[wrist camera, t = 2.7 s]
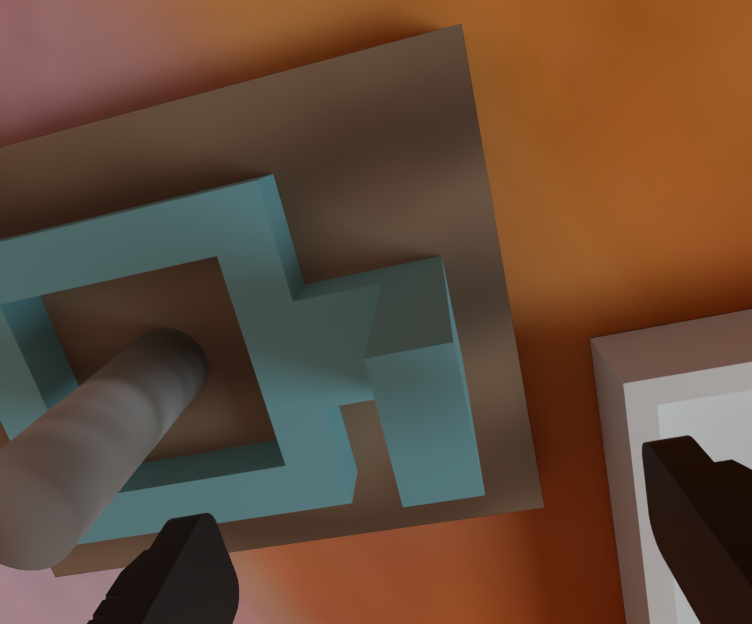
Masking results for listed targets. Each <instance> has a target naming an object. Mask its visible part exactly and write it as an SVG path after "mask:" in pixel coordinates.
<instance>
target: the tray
mask: <svg viewBox="0 0 752 624" xmlns="http://www.w3.org/2000/svg"><path fill="white" fill-rule="evenodd" d="M590 345H591V353H592V360H593V368H594V376H595V384H596V392H597V399H598V407H599V415H600V423H601V430H602V438H603V446H604V454H605V462H606V469H607V477H608V485H609V493H610V501H611V508H612V516H613V524H614V532H615V540H616V547H617V555H618V563H619V571H620V579H621V586H622V594H623V602H624V610H625V617H626V624H700V622H699V620H698V618H697V617H696V615H695V613H694V611H693V610H692V608H691V606H690V604H689V603H688V601H687V599H686V597H685V596H684V594H683V592H682V590H681V589H680V587H679V585H678V583H677V581H676V580H675V578H674V576H673V574H672V573H671V571H670V569H669V567H668V566H667V564H666V562H665V560H664V559H663V557H662V555H661V553H660V551H659V549H658V546H657V544H656V541H655V538H654V535H653V532H652V529H651V525H650V520H649V514H648V505H647V496H646V487H645V478H644V469H643V460H642V445H643V443H644V442H649V441H655V440H661V439H667V438H674V437H680V436H686V435H689V436H691V437H693V438H694V439H695V441H696V442H697V443H698V444H699V445H700V446H701V447H702V449H703V450H704V451H705V452H706V453H707V454H708V455H709V457H710V458H711V459H712V460H713V461H714V462H718V461H724V460H731V459H733V460H735V461H736V462H738V463H740V464H742V465H744V466H746V467H748V468H750V469H752V309H749V310H744V311H738V312H733V313H727V314H722V315H716V316H711V317H705V318H700V319H695V320H689V321H684V322H678V323H673V324H667V325H662V326H656V327H651V328H645V329H640V330H634V331H629V332H623V333H618V334H612V335H607V336H601V337H596V338H590Z"/></svg>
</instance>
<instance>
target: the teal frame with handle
mask: <svg viewBox="0 0 752 624" xmlns="http://www.w3.org/2000/svg"><path fill="white" fill-rule="evenodd" d="M215 256H217V258H218V261H219V264H220V267H221V270H222V273H223V276H224V279H225V282H226V286H227V289H228V292H229V295H230V298H231V301H232V304H233V307H234V310H235V313H236V316H237V319H238V322H239V325H240V328H241V331H242V334H243V337H244V340H245V343H246V347H247V350H248V353H249V356H250V359H251V362H252V365H253V368H254V371H255V374H256V377H257V380H258V383H259V386H260V389H261V392H262V395H263V398H264V401H265V404H266V407H267V411H268V414H269V417H270V420H271V423H272V426H273V429H274V432H275V435H276V438H277V440H274V441H269V442H263V443H257V444H251V445H245V446H239V447H233V448H228V449H222V450H216V451H210V452H204V453H198V454H192V455H186V456H181V457H175V458H169V459H163V460H157V461H151V462H145V463H141V464H140V466H139V467H138V468H137V469H136V471H135V472H134V473H133V474H132V476H131V477H130V478H129V479H128V481H127V482H126V483H125V484H124V486H123V487H122V488H121V489H120V491H119V492H118V493H117V494H116V496H115V497H114V498H113V499H112V501H111V502H110V503H109V504H108V506H107V507H106V508H105V509H104V511H103V512H102V513H101V514H100V516H99V517H98V518H97V519H96V521H95V522H94V523H93V524H92V526H91V527H90V528H89V529H88V531H87V532H86V533H85V534H84V536H83V537H82V538H81V539H80V541H79V542H78V543H77V544H76V545H78V544H84V543H91V542H98V541H104V540H111V539H117V538H124V537H131V536H137V535H144V534H151V533H157V532H160V531H161V529H162V528H163V526H164V524H165V523H166V522H167V521H168V520H169V519H171V518H178V517H184V516H190V515H196V514H202V513H210V514H211V515H212V516H213V517H214V518H215V520H216V522H217V523H224V522H230V521H237V520H243V519H250V518H257V517H263V516H270V515H277V514H283V513H290V512H297V511H303V510H310V509H316V508H323V507H330V506H336V505H343V504H350V503H352V500H353V494H354V489H355V483H356V477H357V472H358V471H357V467H356V464H355V460H354V457H353V453H352V450H351V446H350V443H349V439H348V436H347V432H346V429H345V425H344V422H343V418H342V415H341V411H340V408H339V406H341V405H347V404H352V403H358V402H364V401H369V400H375V403H376V406H377V410H378V414H379V418H380V422H381V426H382V429H383V433H384V437H385V441H386V445H387V448H388V452H389V456H390V460H391V464H392V468H393V471H394V475H395V479H396V483H397V487H398V491H399V494H400V498H401V502H402V506H403V507H409V506H416V505H423V504H429V503H436V502H443V501H450V500H457V499H463V498H470V497H477V496H484V495H485V491H484V485H483V479H482V473H481V467H480V461H479V455H478V449H477V443H476V437H475V431H474V425H473V419H472V413H471V407H470V401H469V395H468V389H467V383H466V377H465V371H464V365H463V359H462V354H461V349H460V344H459V339H458V334H457V329H456V324H455V319H454V315H453V310H452V305H451V300H450V295H449V290H448V285H447V280H446V275H445V270H444V266H443V261H442V256H438V257H433V258H428V259H423V260H419V261H414V262H409V263H404V264H400V265H395V266H390V267H385V268H381V269H376V270H371V271H366V272H362V273H357V274H352V275H347V276H343V277H338V278H333V279H328V280H324V281H319V282H314V283H309V284H304V281H303V277H302V274H301V270H300V267H299V263H298V260H297V256H296V253H295V249H294V246H293V242H292V239H291V235H290V232H289V228H288V225H287V221H286V218H285V214H284V210H283V207H282V203H281V200H280V196H279V193H278V189H277V186H276V182H275V179H274V175H273V174H270V175H266V176H261V177H257V178H253V179H249V180H245V181H241V182H237V183H233V184H228V185H224V186H220V187H216V188H212V189H208V190H204V191H199V192H195V193H191V194H187V195H183V196H179V197H175V198H170V199H166V200H162V201H158V202H154V203H150V204H146V205H141V206H137V207H133V208H129V209H125V210H121V211H117V212H112V213H108V214H104V215H100V216H96V217H92V218H88V219H83V220H79V221H75V222H71V223H67V224H63V225H59V226H54V227H50V228H46V229H42V230H38V231H34V232H30V233H26V234H21V235H17V236H13V237H9V238H5V239H1V240H0V421H1V423H2V425H3V427H4V429H5V431H6V433H7V435H8V437H9V439H10V441H11V440H12V439H13V438H15V437H16V436H17V435H18V434H20V433H21V432H22V431H23V430H25V429H26V428H27V427H28V426H30V425H31V424H32V423H33V422H35V421H36V420H37V419H38V418H40V417H41V416H42V415H43V414H45V413H46V412H47V411H48V410H50V409H51V408H52V407H54V406H55V405H56V404H57V403H59V402H60V401H61V400H62V399H64V398H65V397H66V396H67V395H69V394H70V393H71V392H72V391H74V390H75V389H76V388H77V387H79V385H78V383H77V380H76V378H75V376H74V374H73V371H72V369H71V367H70V364H69V362H68V360H67V357H66V355H65V353H64V351H63V348H62V346H61V344H60V341H59V339H58V337H57V334H56V332H55V330H54V328H53V325H52V323H51V321H50V318H49V316H48V314H47V311H46V309H45V307H44V305H43V302H42V300H41V298H40V295H44V294H49V293H53V292H58V291H62V290H67V289H71V288H76V287H80V286H85V285H89V284H94V283H98V282H103V281H107V280H112V279H116V278H121V277H125V276H130V275H134V274H139V273H143V272H148V271H152V270H156V269H161V268H165V267H170V266H174V265H179V264H183V263H188V262H192V261H197V260H201V259H206V258H210V257H215Z"/></svg>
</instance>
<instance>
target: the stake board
mask: <svg viewBox="0 0 752 624" xmlns="http://www.w3.org/2000/svg"><path fill="white" fill-rule="evenodd" d="M270 174H273V175H274V179H275V182H276V186H277V189H278V193H279V196H280V200H281V203H282V207H283V210H284V214H285V218H286V221H287V225H288V228H289V232H290V235H291V239H292V242H293V246H294V249H295V253H296V256H297V260H298V263H299V267H300V270H301V274H302V277H303V281H304V284H309V283H314V282H319V281H324V280H328V279H333V278H338V277H343V276H347V275H352V274H357V273H362V272H366V271H371V270H376V269H381V268H385V267H390V266H395V265H400V264H404V263H409V262H414V261H419V260H423V259H428V258H433V257H438V256H442V261H443V266H444V270H445V275H446V280H447V285H448V290H449V295H450V300H451V305H452V310H453V315H454V319H455V324H456V329H457V334H458V339H459V344H460V349H461V354H462V359H463V365H464V371H465V377H466V383H467V389H468V395H469V401H470V407H471V413H472V419H473V425H474V431H475V437H476V443H477V449H478V455H479V461H480V467H481V473H482V479H483V485H484V491H485V495H484V496H477V497H470V498H463V499H457V500H450V501H443V502H436V503H429V504H423V505H416V506H409V507H403V506H402V502H401V498H400V494H399V491H398V487H397V483H396V479H395V475H394V471H393V468H392V464H391V460H390V456H389V452H388V448H387V445H386V441H385V437H384V433H383V429H382V426H381V422H380V418H379V414H378V410H377V406H376V403H375V400H369V401H364V402H358V403H352V404H347V405H341V406H339V408H340V411H341V415H342V418H343V422H344V425H345V429H346V432H347V436H348V439H349V443H350V446H351V450H352V453H353V457H354V460H355V464H356V467H357V471H358V472H357V477H356V483H355V489H354V494H353V500H352V503H350V504H343V505H336V506H330V507H323V508H316V509H310V510H303V511H297V512H290V513H283V514H277V515H270V516H263V517H257V518H250V519H243V520H237V521H230V522H224V523H217V525H218V527H219V530H220V533H221V535H222V538H223V540H224V543H225V546H226V548H227V551H228V553H229V552H236V551H243V550H250V549H257V548H264V547H271V546H278V545H285V544H292V543H299V542H306V541H313V540H320V539H327V538H334V537H341V536H348V535H355V534H362V533H369V532H376V531H383V530H390V529H397V528H404V527H411V526H418V525H425V524H432V523H439V522H447V521H454V520H461V519H468V518H475V517H482V516H489V515H496V514H503V513H510V512H517V511H524V510H531V509H538V508H544V503H543V497H542V491H541V485H540V480H539V474H538V468H537V462H536V456H535V450H534V445H533V439H532V433H531V427H530V421H529V415H528V410H527V404H526V398H525V392H524V386H523V380H522V375H521V369H520V363H519V357H518V351H517V345H516V340H515V334H514V328H513V322H512V316H511V310H510V304H509V299H508V293H507V287H506V281H505V275H504V269H503V264H502V258H501V252H500V246H499V240H498V234H497V229H496V223H495V217H494V211H493V205H492V199H491V194H490V188H489V182H488V176H487V170H486V164H485V158H484V153H483V147H482V141H481V135H480V129H479V123H478V118H477V112H476V106H475V100H474V94H473V88H472V83H471V77H470V71H469V65H468V59H467V53H466V48H465V42H464V36H463V30H462V24H458V25H454V26H451V27H447V28H443V29H439V30H436V31H432V32H428V33H425V34H421V35H417V36H413V37H410V38H406V39H402V40H398V41H395V42H391V43H387V44H384V45H380V46H376V47H372V48H369V49H365V50H361V51H357V52H354V53H350V54H346V55H342V56H339V57H335V58H331V59H328V60H324V61H320V62H316V63H313V64H309V65H305V66H301V67H298V68H294V69H290V70H287V71H283V72H279V73H275V74H272V75H268V76H264V77H260V78H257V79H253V80H249V81H245V82H242V83H238V84H234V85H231V86H227V87H223V88H219V89H216V90H212V91H208V92H204V93H201V94H197V95H193V96H190V97H186V98H182V99H178V100H175V101H171V102H167V103H163V104H160V105H156V106H152V107H148V108H145V109H141V110H137V111H134V112H130V113H126V114H122V115H119V116H115V117H111V118H107V119H104V120H100V121H96V122H92V123H89V124H85V125H81V126H78V127H74V128H70V129H66V130H63V131H59V132H55V133H51V134H48V135H44V136H40V137H37V138H33V139H29V140H25V141H22V142H18V143H14V144H10V145H7V146H3V147H0V240H1V239H5V238H9V237H13V236H17V235H21V234H26V233H30V232H34V231H38V230H42V229H46V228H50V227H54V226H59V225H63V224H67V223H71V222H75V221H79V220H83V219H88V218H92V217H96V216H100V215H104V214H108V213H112V212H117V211H121V210H125V209H129V208H133V207H137V206H141V205H146V204H150V203H154V202H158V201H162V200H166V199H170V198H175V197H179V196H183V195H187V194H191V193H195V192H199V191H204V190H208V189H212V188H216V187H220V186H224V185H228V184H233V183H237V182H241V181H245V180H249V179H253V178H257V177H261V176H266V175H270ZM40 298H41V300H42V302H43V305H44V307H45V309H46V311H47V314H48V316H49V318H50V321H51V323H52V325H53V328H54V330H55V332H56V334H57V337H58V339H59V341H60V344H61V346H62V348H63V351H64V353H65V355H66V357H67V360H68V362H69V364H70V367H71V369H72V371H73V374H74V376H75V378H76V380H77V383H78V385H79V387H77V388H76V389H75V390H74V391H72V392H71V393H70V394H69V395H67V396H66V397H65V398H64V399H62V400H61V401H60V402H59V403H57V404H56V405H55V406H54V407H52V408H51V409H50V410H48V411H47V412H46V413H45V414H43V415H42V416H41V417H40V418H38V419H37V420H36V421H35V422H33V423H32V424H31V425H30V426H28V427H27V428H26V429H25V430H23V431H22V432H21V433H20V434H18V435H17V436H16V437H15V438H13V439H12V440H11V441H10V439H9V437H8V435H7V433H6V431H5V429H4V427H3V425H2V423H1V421H0V564H2V565H5V566H8V567H11V568H15V569H20V570H41V569H46V568H49V567H51V569H52V571H53V573H54V575H55V577H60V576H68V575H75V574H82V573H89V572H96V571H103V570H110V569H117V568H124V567H127V566H128V565H129V564H130V563H131V562H132V561H133V560H134V559H135V558H137V557H138V556H139V555H140V554H141V553H142V552H143V551H144V550H148V549H149V548H150V547H151V545H152V544H153V542H154V540H155V539H156V537H157V536H158V534H159V532H157V533H151V534H144V535H137V536H131V537H124V538H117V539H111V540H104V541H98V542H91V543H84V544H78V545H76V544H77V543H78V542H79V541H80V539H81V538H82V537H83V536H84V534H85V533H86V532H87V531H88V529H89V528H90V527H91V526H92V524H93V523H94V522H95V521H96V519H97V518H98V517H99V516H100V514H101V513H102V512H103V511H104V509H105V508H106V507H107V506H108V504H109V503H110V502H111V501H112V499H113V498H114V497H115V496H116V494H117V493H118V492H119V491H120V489H121V488H122V487H123V486H124V484H125V483H126V482H127V481H128V479H129V478H130V477H131V476H132V474H133V473H134V472H135V471H136V469H137V468H138V467H139V466H140V464H141V463H145V462H151V461H157V460H163V459H169V458H175V457H181V456H186V455H192V454H198V453H204V452H210V451H216V450H222V449H228V448H233V447H239V446H245V445H251V444H257V443H263V442H269V441H274V440H277V438H276V435H275V432H274V429H273V426H272V423H271V420H270V417H269V414H268V411H267V407H266V404H265V401H264V398H263V395H262V392H261V389H260V386H259V383H258V380H257V377H256V374H255V371H254V368H253V365H252V362H251V359H250V356H249V353H248V350H247V347H246V343H245V340H244V337H243V334H242V331H241V328H240V325H239V322H238V319H237V316H236V313H235V310H234V307H233V304H232V301H231V298H230V295H229V292H228V289H227V286H226V282H225V279H224V276H223V273H222V270H221V267H220V264H219V261H218V258H217V256H215V257H210V258H206V259H201V260H197V261H192V262H188V263H183V264H179V265H174V266H170V267H165V268H161V269H156V270H152V271H148V272H143V273H139V274H134V275H130V276H125V277H121V278H116V279H112V280H107V281H103V282H98V283H94V284H89V285H85V286H80V287H76V288H71V289H67V290H62V291H58V292H53V293H49V294H44V295H40Z"/></svg>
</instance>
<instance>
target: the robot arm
mask: <svg viewBox="0 0 752 624" xmlns="http://www.w3.org/2000/svg"><path fill="white" fill-rule="evenodd" d="M642 460H643V469H644V478H645V487H646V496H647V505H648V514H649V520H650V525H651V529H652V532H653V535H654V538H655V541H656V544H657V546H658V549H659V551H660V553H661V555H662V557H663V559H664V560H665V562H666V564H667V566H668V567H669V569H670V571H671V573H672V574H673V576H674V578H675V580H676V581H677V583H678V585H679V587H680V589H681V590H682V592H683V594H684V596H685V597H686V599H687V601H688V603H689V604H690V606H691V608H692V610H693V611H694V613H695V615H696V617H697V618H698V620H699V622H700V624H752V469H750V468H748V467H746V466H744V465H742V464H740V463H738V462H736V461H735V460H733V459H731V460H724V461H718V462H714V461H713V460H712V459H711V458H710V457H709V455H708V454H707V453H706V452H705V451H704V450H703V449H702V447H701V446H700V445H699V444H698V443H697V442H696V441H695V439H694V438H693V437H691V436H689V435H686V436H680V437H674V438H667V439H661V440H655V441H649V442H644V443H643V445H642ZM238 603H239V584H238V579H237V575H236V572H235V570H234V567H233V564H232V562H231V559H230V556H229V554H228V551H227V548H226V546H225V543H224V540H223V538H222V535H221V533H220V530H219V527H218V525H217V522H216V520H215V518H214V517H213V516H212V515H211V514H210V513H202V514H196V515H190V516H184V517H178V518H171V519H169V520H168V521H167V522H166V523H165V524H164V526H163V528H162V529H161V531H160V532H159V534H158V536H157V537H156V539H155V540H154V542H153V544H152V545H151V547H150V548H149V549H148V550H144V551H143V552H142V553H141V554H140V555H139V556H138V557H137V558H135V559H134V560H133V561H132V562H131V563H130V564H129V565H128V566H127V567H126V568H125V569H124V570H123V571H122V572H121V573H120V574H119V576H118V578H117V579H116V581H115V582H114V584H113V585H112V587H111V588H110V590H109V591H108V593H107V594H106V600H102V602H101V603H100V605H99V606H98V608H97V610H96V611H95V613H94V614H93V620H89V622H88V623H87V624H232V623H233V621H234V618H235V615H236V612H237V609H238Z"/></svg>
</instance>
